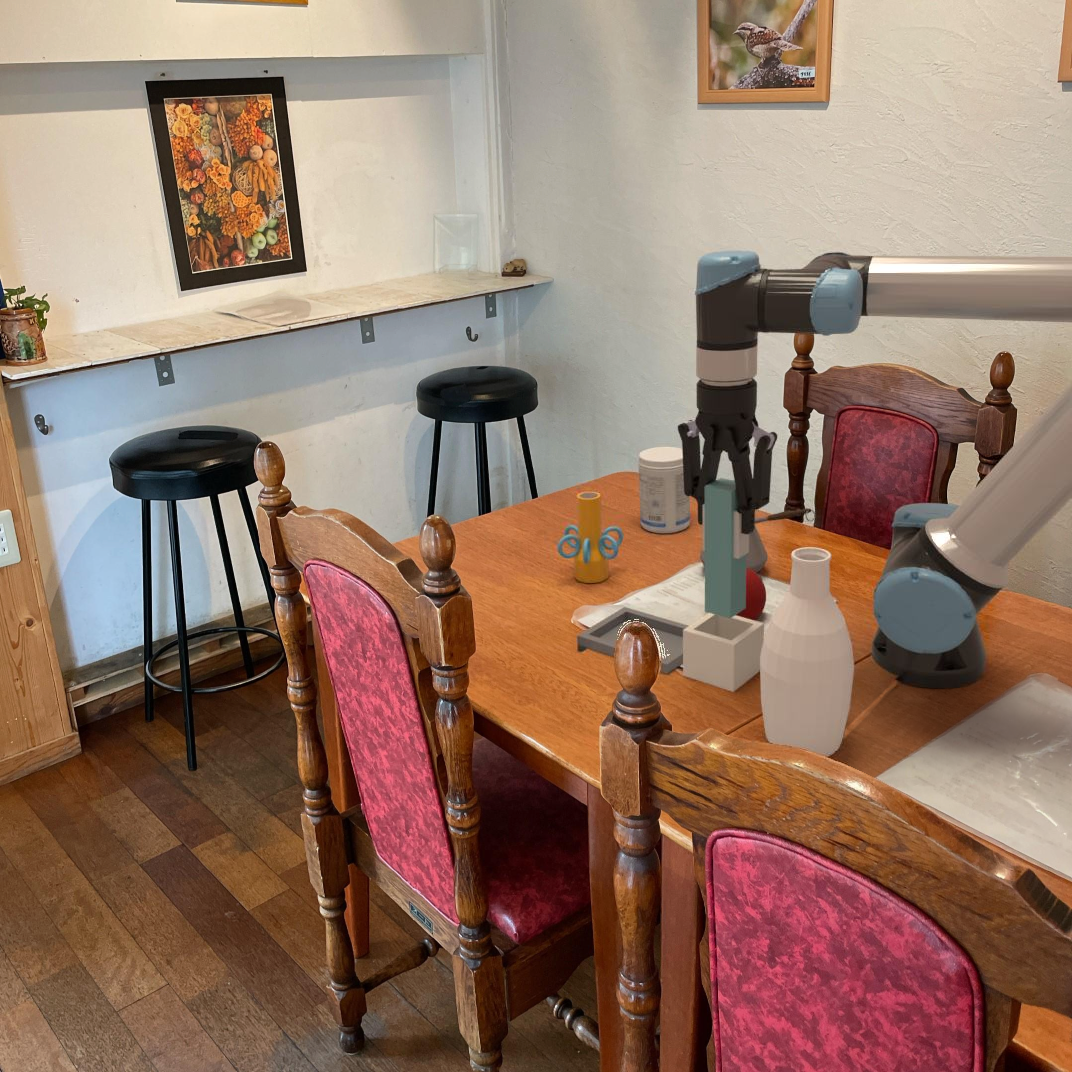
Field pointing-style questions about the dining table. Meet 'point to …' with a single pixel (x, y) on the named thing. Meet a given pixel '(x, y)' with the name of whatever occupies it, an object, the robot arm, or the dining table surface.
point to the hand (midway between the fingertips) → (725, 550)
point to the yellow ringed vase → (590, 541)
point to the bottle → (807, 661)
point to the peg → (722, 552)
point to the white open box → (722, 650)
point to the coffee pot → (756, 548)
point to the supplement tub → (663, 490)
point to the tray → (668, 631)
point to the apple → (753, 596)
